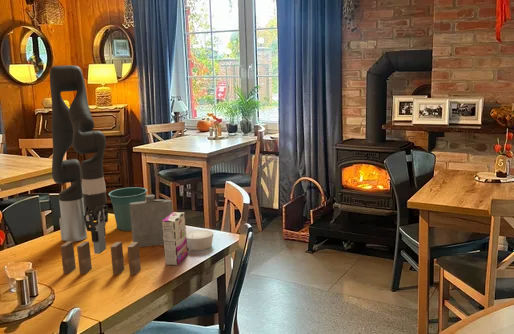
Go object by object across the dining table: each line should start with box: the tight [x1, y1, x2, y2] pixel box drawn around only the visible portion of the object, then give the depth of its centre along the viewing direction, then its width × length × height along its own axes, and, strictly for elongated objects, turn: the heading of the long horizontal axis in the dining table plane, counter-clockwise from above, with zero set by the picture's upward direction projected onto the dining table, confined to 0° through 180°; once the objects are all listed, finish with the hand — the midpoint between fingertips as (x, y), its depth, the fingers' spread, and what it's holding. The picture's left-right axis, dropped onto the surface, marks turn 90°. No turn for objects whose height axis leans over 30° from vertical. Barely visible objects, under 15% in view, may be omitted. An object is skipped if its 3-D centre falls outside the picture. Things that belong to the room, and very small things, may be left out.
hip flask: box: [130, 194, 173, 248], centre depth 205 cm, size 16×4×20 cm, turn 100°
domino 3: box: [92, 221, 107, 255], centre depth 178 cm, size 2×5×10 cm, turn 172°
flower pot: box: [108, 186, 148, 232], centre depth 229 cm, size 16×16×16 cm
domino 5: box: [127, 241, 142, 276], centre depth 178 cm, size 2×5×10 cm, turn 172°
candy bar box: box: [162, 211, 189, 266], centre depth 187 cm, size 11×5×16 cm, turn 168°
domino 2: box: [76, 240, 93, 275], centre depth 180 cm, size 2×5×10 cm, turn 172°
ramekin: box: [186, 229, 214, 252], centre depth 201 cm, size 11×11×5 cm
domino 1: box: [60, 241, 77, 275], centre depth 181 cm, size 2×5×10 cm, turn 172°
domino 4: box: [110, 241, 125, 276], centre depth 179 cm, size 2×5×10 cm, turn 172°
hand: (99, 238), depth 178 cm, fingers closed on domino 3, 5 cm apart
